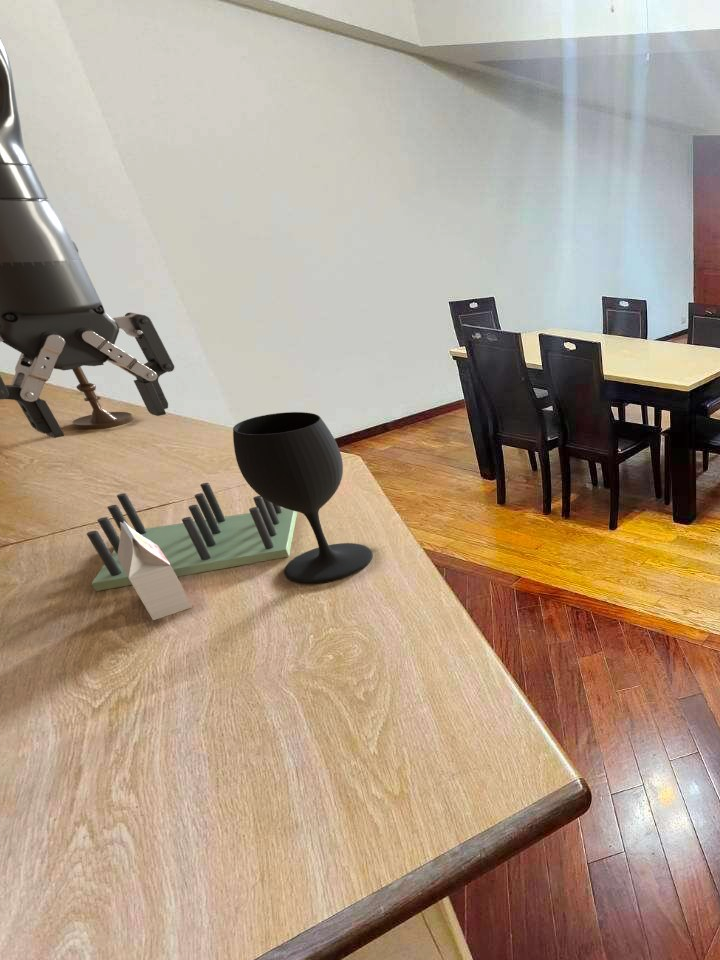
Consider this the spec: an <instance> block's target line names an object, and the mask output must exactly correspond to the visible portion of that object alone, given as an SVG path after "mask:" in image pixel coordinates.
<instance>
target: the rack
mask: <svg viewBox="0 0 720 960" xmlns="http://www.w3.org/2000/svg"><path fill="white" fill-rule="evenodd" d="M200 488H201V490H202V492H203V493H202V492H200V493H196V494H194V498H195V500H196V503H197V504H191V505H189V506H188V510H189V512H190V514H191V516H192V517H191V516H186V517H183V518H181V521H182V522H179V523H174V524H167V525H161V526H153V527H147V528H145V526H144V523H143V522H142V520H141V518H140V516H139V514H138V513H137V510H136V509H135V507H134V505H133V503H132V501H131V500H130V497H129V495H128V493H125V492H124V493H119V494H117V495H116V498H117V499H118V501H119V504H120V505H121V507H122V509H123V511H124V512H125V514H126V516H127V518H128V520H129V522H130V523H131V525H132V527H133V530H135V531H136V532H137V533H139V534H140V535H142V536H143V537H145V538H147V539H148V540H150V541H151V542H153V543H154V544H156V545H157V546H158V547H159V548H160V550H161V551H162V553H163V554H164V556H165V557H166V559H167V560H168V562H169V563H170V565H171V566H172V568H173V570H174V572H175V574H176V576H177V578H178V577H184V576H188V575H194V574H200V573H206V572H211V571H216V570H222V569H228V568H233V567H238V566H244V565H250V564H256V563H261V562H266V561H267V562H268V561H271V560H272V561H273V560H278V559H283V558H289V557H290V553H291V548H292V543H293V537H294V532H295V526H296V522H297V516H298V512H296V511H292V510H289V509H286V508H283V507H280V506H278V505H275V504H273V503H271V502H269V501H268V500H266V499H264V498H263V497H261V496H260V495H256V496H253V499H252V500H253V502H254V504H255V506H254V507H250V508H249V509H248V511H249V512H248V513H240V514H234V515H227V516H225V514H224V513H223V511H222V508H221V507H220V506H221V505H220V504H219V502H218V500H217V497H216V496H215V493H214V491H213V489H212V487H211V484H210V483H209V482H203V483H200ZM106 508H107V510H108V511H109V513H110V515H111V517H112V518H113V520H114V522H115V524H116V526H117V528H118V529H119V531H120V532H121V525H120V522H122V523H124V521H125V522H126V523H127V524H128V526H130V525H129V523H128V521H127V520H126V518H125V516H124V514H123V512H122V511H121V509H120V507H119V505H118V504H111V505H108V506H107V507H106ZM97 522H98V524H99V526H100V528H101V529H102V531H103V533H104V534H105V536H106V538H107V539H108V541H109V543H110V545H111V547H112V549H113V551H112V552H111V551H110V550H109V548H108V546H107V545H106V543H105V541H104V540H103V537H102V535H101V534H100V531H98V530H91V531H88V532H87V533H86V536H87V537H88V539H89V541H90V543H91V544H92V546H93V548H94V549H95V551H96V553H97V554H98V556H99V557H100V559H101V561H102V562H103V563H102V564H103V565H102V566H101V568H100V570H99V572H98V573H97V574H96V576H95V578H94V579H93V580H92V582H91V585H92V587H93V589H94V590H95V591H96V592H99V591H104V590H111V589H116V588H122V587H127V586H133V585H132V583H131V581H130V579H129V578H128V576H127V574H126V572H125V570H124V569H123V567H122V565H121V563H120V561H119V560H118V558H117V554H118V548H119V542H120V536H119V534H118V532H117V531H116V529H115V528H114V525H113V524H112V522H111V520H110V519H109V517H107V516H105V517H100V518H98V519H97Z"/></svg>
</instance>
